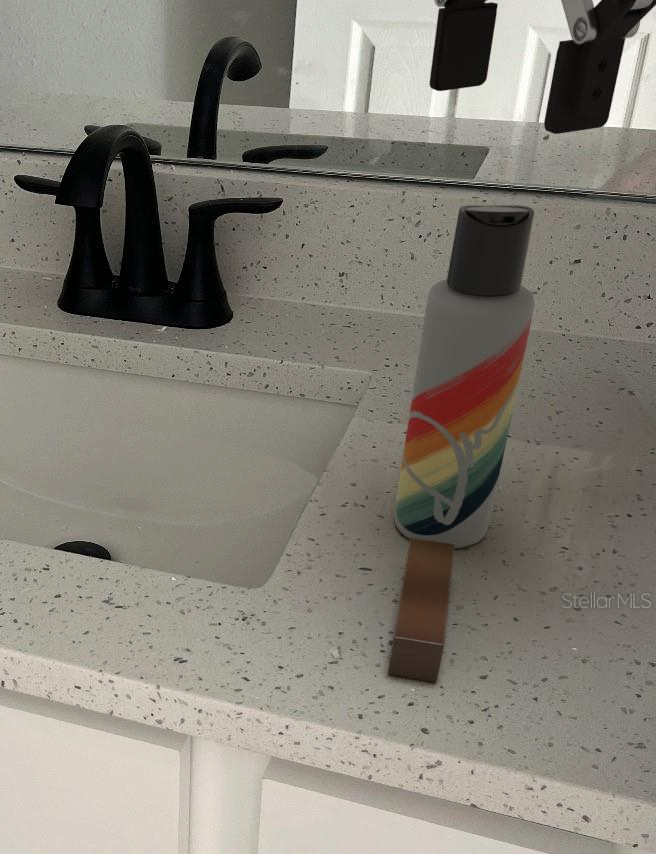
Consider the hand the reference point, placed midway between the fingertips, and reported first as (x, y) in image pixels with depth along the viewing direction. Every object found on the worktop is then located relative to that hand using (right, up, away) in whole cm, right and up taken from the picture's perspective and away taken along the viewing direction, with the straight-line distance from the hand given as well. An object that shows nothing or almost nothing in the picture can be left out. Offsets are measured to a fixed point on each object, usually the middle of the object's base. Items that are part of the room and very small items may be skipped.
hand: (512, 106), depth 61 cm
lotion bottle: (+1, -21, +14) cm, 25 cm away
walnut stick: (-3, -27, +6) cm, 27 cm away
